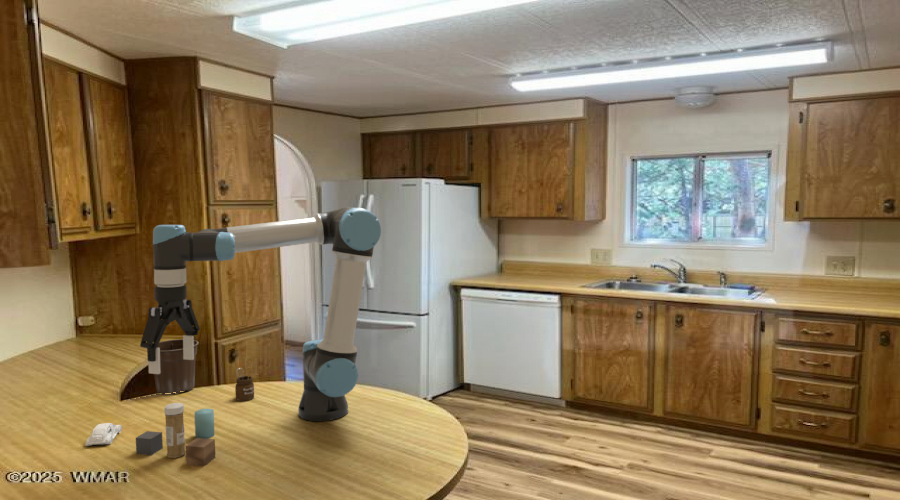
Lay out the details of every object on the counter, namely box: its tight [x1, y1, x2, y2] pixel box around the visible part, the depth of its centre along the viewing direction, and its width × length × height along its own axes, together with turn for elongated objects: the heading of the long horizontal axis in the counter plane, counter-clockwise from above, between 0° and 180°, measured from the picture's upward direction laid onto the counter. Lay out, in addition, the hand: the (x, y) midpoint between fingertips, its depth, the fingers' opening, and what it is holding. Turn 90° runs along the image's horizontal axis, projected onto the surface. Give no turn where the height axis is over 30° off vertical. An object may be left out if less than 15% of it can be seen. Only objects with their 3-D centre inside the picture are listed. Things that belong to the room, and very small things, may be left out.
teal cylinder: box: [194, 408, 216, 439], centre depth 170 cm, size 5×5×7 cm
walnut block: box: [185, 437, 216, 467], centre depth 154 cm, size 5×5×5 cm
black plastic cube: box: [135, 430, 164, 456], centre depth 160 cm, size 4×4×4 cm
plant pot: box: [153, 338, 199, 395], centre depth 210 cm, size 16×16×16 cm
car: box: [84, 422, 123, 447], centre depth 168 cm, size 12×6×5 cm, turn 10°
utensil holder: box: [234, 360, 255, 402], centre depth 201 cm, size 6×6×12 cm
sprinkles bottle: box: [163, 402, 186, 459], centre depth 157 cm, size 5×5×14 cm
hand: (172, 366), depth 156 cm, fingers open, 13 cm apart
